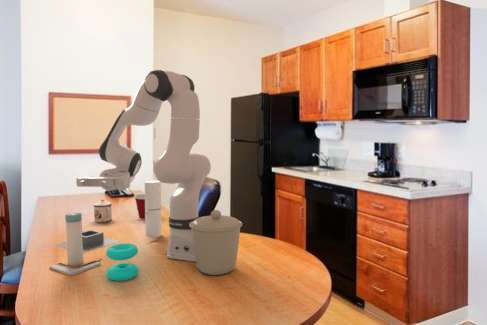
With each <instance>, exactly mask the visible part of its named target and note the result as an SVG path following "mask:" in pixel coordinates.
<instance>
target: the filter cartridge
mask: <svg viewBox="0 0 487 325" xmlns="http://www.w3.org/2000/svg"><path fill="white" fill-rule="evenodd" d="M64 216H65V217H64V219H65V231H66V232H65V234H66V242H67V248H66V253H67V255H66V256H67V265H68V266H69V267H73V266H79V265H82V264H84V253H83V243H82V232H83V224H82V220H83V219H82V216H83V215H82V213H81V212H70V213H66V214H65V215H64Z"/></svg>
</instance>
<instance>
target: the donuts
mask: <svg viewBox="0 0 487 325" xmlns="http://www.w3.org/2000/svg"><path fill="white" fill-rule="evenodd" d="M138 250H139V248H138V247H137V245H136V244H133V243H118V244H114V245H111V246H110V247H108V248H107V249H106V251H105V255H106V256H107V258H108V259H110V260H112V261H126V260H127V261H128V260H131V259H133V258H134V257H135V256H137V254H138V253H139V252H138ZM138 274H139V268H138V266H137V265H136V264H134V263H130V262H120V263H119V262H118V263H116V264H114V265H112V266H110V267H108V269H107V272H106V277H107V278H108V279H109V280H111V281H114V282H115V281H116V282H122V280H124V281H128V279H129V280H131V278H132V279H133V277H134V278H136V276H138Z"/></svg>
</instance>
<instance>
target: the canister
mask: <svg viewBox="0 0 487 325" xmlns="http://www.w3.org/2000/svg"><path fill="white" fill-rule="evenodd" d="M242 226H243V223H242V221H241V220H239V219H237V218H235V217H233V216H231V215H230V216H228V215H222V212H221V211H220V210H218V209H215V210H212V211H211V212H210V215H205V216H199V218H197V219H195V220H194V221H192V222H191V223H190V227H191V228H192V236H193V244H194V252H195V259H196V262H195V265H196V268H197V270H198V271H199V272H200V273H202V274H205V275H210V276H220V275H224V274H225V275H227V274H229V273H231V272H232V271H233V270H234V268H235V266H236V264H237V261H238V260H237V258H238V253H239V252H238V250H239V244H240V243H239V241H240V235H241V234H240V233H241V227H242Z"/></svg>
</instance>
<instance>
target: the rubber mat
mask: <svg viewBox="0 0 487 325" xmlns="http://www.w3.org/2000/svg"><path fill="white" fill-rule="evenodd" d="M101 265H102V262H101V261H97V260H93V261H90V262H87V263H83V264H80V265H77V266H72V267H69V266H70V265H69V266H68V264H65V263H61V262H59V263H55V264H53V265H49V268H48V269H50V270H53V271H56V272H59V273H61V274H63V275H68V276H73V275H76V274H79V273H83V272H84V271H88V270H91V269H93V268H95V267H98V266H101Z"/></svg>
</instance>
